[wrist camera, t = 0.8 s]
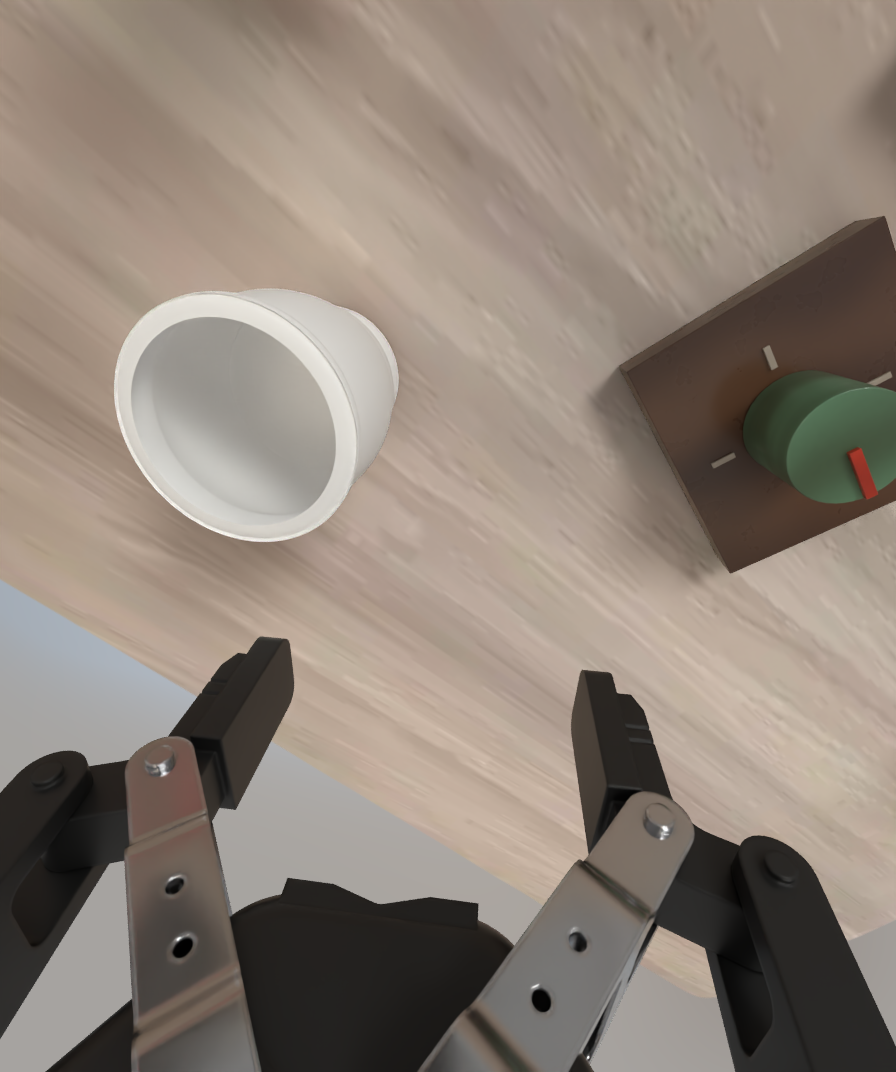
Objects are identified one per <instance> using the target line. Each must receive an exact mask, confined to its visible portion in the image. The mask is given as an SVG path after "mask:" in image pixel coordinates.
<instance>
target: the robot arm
mask: <svg viewBox="0 0 896 1072" xmlns="http://www.w3.org/2000/svg"><path fill="white" fill-rule="evenodd" d="M293 691H294V676H293V667H292V658H291V649H290V643H289V641H288V640H287V639H281V638H271V637H259V638H258V639H257V640H256V641H255V643H254V644H253V646H252V647H251V648H250V650H249V651H248V653H247V654H242V653H237V654H236V655H235V656H233V657H232V658H230V659H229V660H228V661H226V662H225V663H223V664H222V665H221V666H220V667H219V669H218V670H217V671H216V673H215V674H214V676H213V677H212V678H211V681H210V682H208V684H207V685H206V686H205V688H204V689H203V690H202V694H201V693H200V694H199V696H198V697H197V698H196V700H195V701H194V702H193V704H192V705H191V707H190V708H189V709H188V710H187V712H186V713H185V714H184V716H183V717H182V718H181V720H180V721H179V722H178V724H177V725H176V727H175V728H174V729H173V730H172V732H171V733H170V734H169V736H168V737H164V738H160V739H157V740H154V741H152V742H150V743H148V744H146V745H145V746H143V747H141V748H140V749H139V750H138V751H136V752H135V753H134V755H133V756H132V757H131V758H130V760H126V761H121V762H114V763H108V764H101V765H95V766H88V763H87V760H86V758H85V757H84V756H83V755H82V754H81V753H78V752H76V751H60V752H56V753H52V754H49V755H46V756H44V757H42V758H39V759H38V760H36V761H34V762H32V763H31V764H29V765H28V766H26V767H25V768H24V769H23V770H21V772H19V773H18V774H17V775H16V776H15V778H14V779H13V780H12V781H11V782H10V783H9V784H8V785H7V786H6V787H5V788H4V789H3V791H2V792H1V793H0V1038H1V1037H2V1035H3V1033H4V1032H5V1030H6V1029H7V1027H8V1026H9V1024H10V1022H11V1021H12V1019H13V1018H14V1016H15V1014H16V1012H17V1011H18V1009H19V1008H20V1006H21V1005H22V1003H23V1001H24V1000H25V998H26V997H27V995H28V993H29V992H30V990H31V989H32V987H33V985H34V984H35V982H36V981H37V979H38V977H39V976H40V974H41V972H42V971H43V969H44V968H45V966H46V964H47V963H48V961H49V960H50V958H51V956H52V955H53V953H54V951H55V950H56V948H57V947H58V945H59V943H60V942H61V940H62V939H63V937H64V935H65V934H66V932H67V931H68V929H69V927H70V926H71V924H72V923H73V921H74V919H75V918H76V916H77V914H78V913H79V911H80V910H81V908H82V907H83V905H84V903H85V902H86V900H87V898H88V897H89V895H90V894H91V892H92V890H93V889H94V887H95V886H96V884H97V882H98V881H99V879H100V878H101V876H102V874H103V873H104V871H105V870H106V868H107V866H108V865H109V863H114V862H119V861H124V862H125V879H126V895H127V896H126V897H127V915H128V930H129V949H130V968H131V985H132V999H131V1000H130V1001H129V1002H127V1003H126V1004H125V1005H124V1006H123V1007H121V1008H120V1009H119V1010H118V1011H117V1012H116V1013H115V1014H113V1015H112V1016H111V1017H110V1018H109V1019H107V1020H106V1021H105V1022H104V1023H103V1024H101V1025H100V1026H99V1027H98V1028H97V1029H95V1030H94V1031H93V1032H92V1033H91V1034H90V1035H88V1036H87V1037H86V1038H85V1039H84V1040H82V1041H81V1042H80V1043H79V1044H78V1045H77V1046H75V1047H74V1048H73V1049H72V1050H71V1051H69V1052H68V1053H67V1054H66V1055H65V1056H63V1057H62V1058H61V1059H60V1060H59V1061H58V1062H56V1063H55V1064H54V1065H53V1066H52V1067H51V1068H49V1069H48V1070H47V1071H46V1072H594V1071H593V1070H592V1068H591V1066H590V1063H591V1061H592V1059H593V1058H594V1055H595V1054H596V1052H597V1050H598V1048H599V1046H600V1044H601V1042H602V1040H603V1038H604V1036H605V1034H606V1032H607V1030H608V1028H609V1025H610V1023H611V1021H612V1019H613V1017H614V1015H615V1013H616V1010H617V1008H618V1006H619V1004H620V1002H621V999H622V997H623V995H624V993H625V991H626V989H627V987H628V985H629V983H630V982H631V980H632V978H633V976H634V974H635V972H636V970H637V968H638V966H639V964H640V962H641V960H642V958H643V956H644V954H645V952H646V950H647V948H648V946H649V944H650V942H651V940H652V939H653V937H654V935H655V933H656V931H657V929H658V927H659V926H660V927H663V928H665V929H667V930H669V931H671V932H673V933H675V934H677V935H679V936H681V937H683V938H685V939H687V940H689V941H691V942H694V943H696V944H698V945H700V946H702V947H704V948H705V950H706V954H707V958H708V962H709V966H710V970H711V974H712V978H713V983H714V987H715V991H716V995H717V999H718V1003H719V1007H720V1011H721V1015H722V1019H723V1023H724V1027H725V1031H726V1035H727V1040H728V1044H729V1048H730V1052H731V1056H732V1059H733V1064H734V1068H735V1072H896V1046H895V1044H894V1042H893V1039H892V1037H891V1035H890V1033H889V1031H888V1029H887V1026H886V1024H885V1023H884V1020H883V1018H882V1016H881V1014H880V1011H879V1009H878V1007H877V1005H876V1003H875V1001H874V998H873V996H872V994H871V992H870V990H869V988H868V986H867V983H866V981H865V979H864V977H863V975H862V973H861V971H860V968H859V966H858V964H857V962H856V960H855V958H854V956H853V953H852V951H851V949H850V947H849V945H848V942H847V940H846V938H845V936H844V934H843V932H842V930H841V927H840V925H839V923H838V921H837V919H836V917H835V914H834V912H833V910H832V908H831V906H830V904H829V902H828V899H827V897H826V895H825V893H824V891H823V889H822V886H821V884H820V882H819V880H818V878H817V876H816V874H815V872H814V870H813V869H812V868H811V866H810V865H809V864H808V862H807V861H806V860H805V859H804V858H803V857H802V856H801V855H800V854H799V853H798V852H796V851H795V850H794V849H792V848H791V847H789V846H788V845H786V844H785V843H783V842H781V841H779V840H776V839H773V838H771V837H766V836H751V837H748V838H747V839H745V840H744V841H743V842H742V843H741V845H740V846H739V845H737V844H734V843H732V842H729V841H727V840H724V839H722V838H719V837H717V836H714V835H712V834H710V833H708V832H705V831H703V830H702V829H700V828H698V827H697V826H695V825H694V824H693V823H692V822H691V819H690V818H689V816H688V815H687V813H686V812H685V811H684V810H683V808H682V807H681V806H679V805H678V804H677V803H676V802H675V801H673V799H672V797H671V794H670V791H669V788H668V785H667V781H666V778H665V775H664V772H663V769H662V766H661V763H660V760H659V756H658V753H657V750H656V747H655V745H654V744H653V738H652V735H651V732H650V731H649V725H648V722H647V719H646V716H645V713H644V710H643V709H642V708H641V707H640V705H639V704H638V703H637V702H636V700H635V699H634V698H633V697H632V696H631V695H628V694H618V693H617V692H616V688H615V684H614V680H613V677H612V674H611V673H609V672H599V671H589V670H582V671H581V673H580V677H579V682H578V687H577V692H576V696H575V701H574V706H573V711H572V720H571V734H572V742H573V749H574V756H575V763H576V770H577V777H578V784H579V791H580V798H581V805H582V812H583V819H584V826H585V833H586V840H587V846H588V853H589V855H588V857H587V858H586V859H585V860H584V861H582V860H578V861H576V862H575V863H574V865H573V866H572V867H571V868H570V870H569V871H568V872H567V874H566V875H565V877H564V878H563V879H562V881H561V882H560V884H559V885H558V886H557V888H556V889H555V890H554V892H553V893H552V895H551V896H550V897H549V899H548V900H547V902H546V903H545V904H544V906H543V907H542V909H541V910H540V911H539V913H538V914H537V916H536V917H535V918H534V920H533V921H532V922H531V924H530V925H529V927H528V928H527V929H526V931H525V932H524V934H523V935H522V936H521V938H520V939H519V940H518V942H517V943H516V945H515V946H514V945H513V944H512V943H511V942H510V941H509V940H508V939H507V938H506V937H504V936H503V935H502V934H500V932H498V931H497V930H495V929H494V928H492V927H490V926H489V925H487V924H485V923H483V922H481V921H479V920H478V904H477V903H470V902H463V901H455V900H447V899H440V898H433V897H428V898H422V899H415V900H408V901H401V902H395V903H387V904H377V903H374V902H372V901H369V900H367V899H365V898H363V897H361V896H358V895H356V894H354V893H352V892H350V891H347V890H345V889H343V888H341V887H339V886H337V885H334V884H328V883H322V882H314V881H307V880H299V879H292V878H288V879H287V881H286V884H285V887H284V889H283V892H282V894H281V895H276V896H272V897H268V898H265V899H262V900H259V901H257V902H254V903H252V904H250V905H248V906H246V907H244V908H243V909H241V910H239V911H238V912H236V913H235V914H233V915H232V910H231V906H230V902H229V897H228V893H227V888H226V884H225V879H224V874H223V870H222V865H221V861H220V856H219V851H218V847H217V842H216V837H215V833H214V829H213V824H212V820H213V819H214V817H215V815H216V813H217V811H218V809H219V808H227V809H234V810H236V808H237V806H238V804H239V802H240V800H241V798H242V796H243V795H244V793H245V791H246V789H247V787H248V785H249V783H250V781H251V779H252V777H253V775H254V773H255V771H256V769H257V767H258V765H259V763H260V762H261V760H262V757H263V756H264V754H265V752H266V750H267V748H268V746H269V744H270V742H271V740H272V738H273V736H274V734H275V732H276V730H277V728H278V726H279V725H280V723H281V721H282V719H283V717H284V715H285V713H286V711H287V709H288V707H289V705H290V703H291V700H292V696H293Z"/></svg>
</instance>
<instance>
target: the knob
mask: <svg viewBox="0 0 896 1072" xmlns="http://www.w3.org/2000/svg"><path fill="white" fill-rule="evenodd" d="M743 440H744V444H745V447H746V449H747V451H748V453H749V454H750V456H751V457H752V458H753V459H754V460H755V461H756V462H757V463H759V464H760V465H762V466H763V467H764V468H766V469H767V470H769V471H770V472H771V473H773V474H774V475H776V476H777V477H779V478H780V479H781V480H783V481H784V482H786V483H787V484H788V485H790V486H791V487H793V488H794V489H795V490H797V491H798V492H800V493H801V494H803V495H804V496H806V497H807V498H810V499H812V500H815V501H818V502H823V503H835V504H836V503H846V502H852V501H856V500H859V499H862V498H865V499H869V498H872V497H874V496H876V495H878V492H877V491H879V490H881V489H882V488H884V487H885V486H887V485H888V484H889V483H890V482H892V481H893V480H894V479H895V478H896V392H894V391H892V390H888V389H885V388H882V387H878V386H874V385H871V384H867V383H863V382H860V381H856V380H852V379H849V378H845V377H842V376H838V375H834V374H831V373H827V372H823V371H817V370H807V371H800V372H796V373H792V374H789V375H786V376H784V377H782V378H780V379H778V380H777V381H775V382H773V383H772V384H771V385H769V386H768V387H767V388H765V389H764V390H763V391H762V392H761V393H760V394H759V395H758V397H757V398H756V399H755V400H754V402H753V403H752V405H751V406H750V408H749V410H748V412H747V415H746V417H745V421H744V426H743Z"/></svg>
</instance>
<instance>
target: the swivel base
mask: <svg viewBox="0 0 896 1072" xmlns="http://www.w3.org/2000/svg"><path fill="white" fill-rule="evenodd" d="M619 368H620V370H621V372H622V374H623V376H624V378H625V380H626V382H627V384H628V386H629V387H630V389H631V391H632V393H633V395H634V397H635V399H636V401H637V403H638V405H639V407H640V409H641V411H642V413H643V415H644V416H645V418H646V420H647V422H648V424H649V426H650V428H651V430H652V432H653V434H654V436H655V438H656V440H657V442H658V443H659V445H660V447H661V449H662V451H663V453H664V455H665V457H666V459H667V461H668V463H669V465H670V467H671V469H672V470H673V472H674V474H675V476H676V478H677V480H678V482H679V484H680V486H681V488H682V490H683V492H684V494H685V496H686V497H687V499H688V501H689V503H690V505H691V507H692V509H693V511H694V513H695V515H696V517H697V519H698V521H699V523H700V524H701V526H702V528H703V530H704V532H705V534H706V536H707V538H708V540H709V542H710V544H711V546H712V548H713V550H714V551H715V553H716V555H717V557H718V558H719V560H720V561H721V562H722V564H723V565H724V566H725V567H726V569H727V570H728V571H729V573H733V572H735V571H737V570H740V569H742V568H744V567H747V566H749V565H751V564H753V563H756V562H758V561H760V560H762V559H765V558H767V557H769V556H771V555H774V554H776V553H778V552H780V551H783V550H785V549H787V548H789V547H792V546H794V545H796V544H798V543H801V542H803V541H805V540H808V539H810V538H812V537H814V536H817V535H819V534H821V533H823V532H826V531H828V530H830V529H832V528H835V527H837V526H839V525H841V524H844V523H846V522H848V521H850V520H853V519H855V518H857V517H859V516H862V515H864V514H866V513H869V512H871V511H873V510H875V509H878V508H880V507H882V506H884V505H887V504H889V503H891V502H893V501H896V478H895V479H894V480H893V481H892V482H890V483H889V484H888V485H887V486H885V487H884V488H882V489H881V490H879V491H877V492H878V495H876V496H874V497H872V498H869V499H865V498H862V499H859V500H856V501H852V502H846V503H836V504H835V503H823V502H818V501H815V500H812V499H810V498H807V497H806V496H804V495H803V494H801V493H800V492H798V491H797V490H795V489H794V488H793V487H791V486H790V485H788V484H787V483H786V482H784V481H783V480H781V479H780V478H779V477H777V476H776V475H774V474H773V473H771V472H770V471H769V470H767V469H766V468H764V467H763V466H762V465H760V464H759V463H757V462H756V461H755V460H754V459H753V458H752V457H751V456H750V454H749V453H748V451H747V449H746V447H745V444H744V440H743V426H744V421H745V417H746V415H747V412H748V410H749V408H750V406H751V405H752V403H753V402H754V400H755V399H756V398H757V397H758V395H759V394H760V393H761V392H762V391H763V390H764V389H765V388H767V387H768V386H769V385H771V384H772V383H773V382H775V381H777V380H778V379H780V378H782V377H784V376H786V375H789V374H792V373H796V372H800V371H807V370H817V371H823V372H827V373H831V374H834V375H838V376H842V377H845V378H849V379H852V380H856V381H860V382H863V383H867V384H871V385H874V386H878V387H882V388H885V389H888V390H892V391H894V392H896V251H895V248H894V245H893V242H892V238H891V235H890V232H889V228H888V225H887V222H886V218H885V216H882V217H876V218H871V219H865V220H860V221H855V222H853V223H851V224H850V225H848V226H847V227H845V228H843V229H842V230H840V231H838V232H837V233H835V234H834V235H832V236H830V237H829V238H827V239H825V240H824V241H822V242H820V243H819V244H817V245H816V246H814V247H812V248H811V249H809V250H807V251H806V252H804V253H803V254H801V255H799V256H798V257H796V258H794V259H793V260H791V261H789V262H788V263H786V264H785V265H783V266H781V267H780V268H778V269H776V270H775V271H773V272H772V273H770V274H768V275H767V276H765V277H763V278H762V279H760V280H758V281H757V282H755V283H754V284H752V285H750V286H749V287H747V288H745V289H744V290H742V291H741V292H739V293H737V294H736V295H734V296H732V297H731V298H729V299H727V300H726V301H724V302H723V303H721V304H719V305H718V306H716V307H714V308H713V309H711V310H710V311H708V312H706V313H705V314H703V315H701V316H700V317H698V318H696V319H695V320H693V321H692V322H690V323H688V324H687V325H685V326H683V327H682V328H680V329H679V330H677V331H675V332H674V333H672V334H670V335H669V336H667V337H665V338H664V339H662V340H661V341H659V342H657V343H656V344H654V345H652V346H651V347H649V348H648V349H646V350H644V351H643V352H641V353H639V354H638V355H636V356H634V357H633V358H631V359H630V360H628V361H626V362H625V363H623V364H621V365H620V366H619Z"/></svg>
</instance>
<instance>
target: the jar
mask: <svg viewBox="0 0 896 1072" xmlns="http://www.w3.org/2000/svg"><path fill="white" fill-rule="evenodd" d="M398 386H399V375H398V367H397V363H396V359H395V356H394V353H393V351H392V349H391V347H390V345H389V343H388V341H387V340H386V338H385V337H384V335H383V334H382V333H381V331H380V330H379V329H378V328H377V327H376V326H375V325H374V324H373V323H372V322H370V321H369V320H368V319H367V318H365V317H364V316H362V315H360V314H359V313H357V312H355V311H352V310H350V309H347V308H344V307H339V306H336V305H334V304H332V303H330V302H328V301H326V300H323V299H321V298H318V297H316V296H313V295H310V294H306V293H303V292H298V291H293V290H287V289H274V288H265V289H253V290H246V291H241V292H237V293H233V292H225V291H202V292H195V293H190V294H186V295H182V296H179V297H176V298H173V299H170V300H168V301H166V302H163V303H162V304H160V305H158V306H156V307H155V308H153V309H152V310H150V311H149V312H148V313H147V314H145V315H144V316H143V317H142V318H141V319H140V320H139V321H138V322H137V324H136V325H135V326H134V327H133V329H132V330H131V331H130V333H129V334H128V336H127V338H126V340H125V342H124V344H123V346H122V348H121V351H120V354H119V357H118V361H117V365H116V370H115V379H114V398H115V407H116V413H117V417H118V421H119V425H120V428H121V431H122V434H123V437H124V440H125V442H126V444H127V447H128V449H129V451H130V453H131V455H132V457H133V458H134V460H135V462H136V463H137V465H138V467H139V468H140V470H141V471H142V473H143V474H144V475H145V477H146V478H147V479H148V481H149V482H150V483H151V484H152V486H153V487H154V488H155V489H156V490H157V491H158V492H159V493H160V494H161V495H162V496H163V497H164V498H165V499H166V500H167V501H168V502H169V503H170V504H171V505H172V506H174V507H175V508H176V509H177V510H179V511H180V512H181V513H183V514H184V515H186V516H187V517H188V518H190V519H192V520H193V521H195V522H197V523H198V524H200V525H202V526H204V527H206V528H208V529H210V530H212V531H215V532H217V533H220V534H223V535H226V536H229V537H232V538H236V539H241V540H247V541H255V542H274V541H282V540H287V539H291V538H295V537H298V536H300V535H303V534H305V533H307V532H309V531H311V530H313V529H315V528H316V527H318V526H320V525H321V524H322V523H324V522H325V521H326V520H327V519H328V518H329V517H330V516H331V515H332V514H333V513H334V512H335V511H336V510H337V509H338V507H339V506H340V505H341V503H342V502H343V500H344V498H345V497H346V495H347V493H348V492H349V490H350V488H351V486H352V484H354V483H355V482H356V481H357V480H358V479H359V478H360V477H361V476H362V475H363V474H364V472H365V471H366V470H367V469H368V468H369V466H370V465H371V464H372V462H373V461H374V459H375V458H376V456H377V454H378V453H379V451H380V449H381V447H382V445H383V442H384V440H385V437H386V435H387V431H388V428H389V424H390V419H391V413H392V408H393V406H394V403H395V401H396V397H397V393H398Z"/></svg>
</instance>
